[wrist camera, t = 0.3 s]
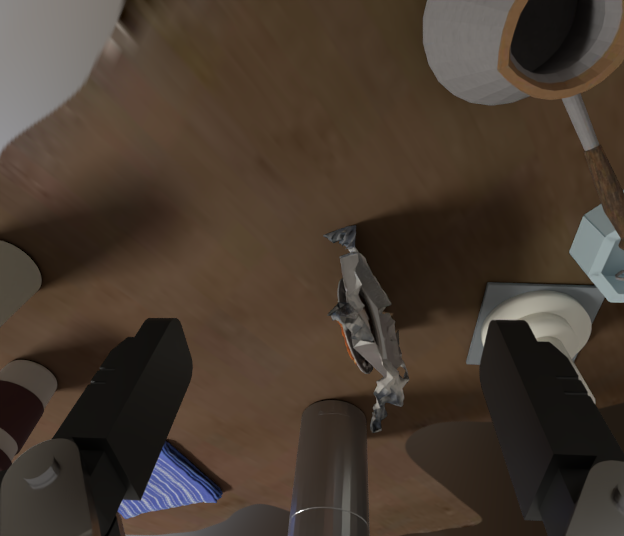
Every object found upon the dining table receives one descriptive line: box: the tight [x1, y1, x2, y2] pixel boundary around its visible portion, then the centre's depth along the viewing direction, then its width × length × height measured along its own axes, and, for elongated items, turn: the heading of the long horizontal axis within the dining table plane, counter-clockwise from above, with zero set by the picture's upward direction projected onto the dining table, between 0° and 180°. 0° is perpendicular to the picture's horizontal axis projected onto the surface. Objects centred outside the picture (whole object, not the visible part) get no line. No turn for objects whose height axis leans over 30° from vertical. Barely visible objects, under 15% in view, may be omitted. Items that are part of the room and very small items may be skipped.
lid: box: [481, 290, 596, 403], centre depth 42 cm, size 11×11×10 cm
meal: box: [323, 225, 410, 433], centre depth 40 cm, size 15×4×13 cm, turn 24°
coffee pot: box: [423, 0, 624, 281], centre depth 27 cm, size 21×12×15 cm, turn 31°
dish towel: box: [118, 441, 223, 519], centre depth 72 cm, size 17×24×3 cm
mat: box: [466, 282, 605, 365], centre depth 47 cm, size 12×12×1 cm
